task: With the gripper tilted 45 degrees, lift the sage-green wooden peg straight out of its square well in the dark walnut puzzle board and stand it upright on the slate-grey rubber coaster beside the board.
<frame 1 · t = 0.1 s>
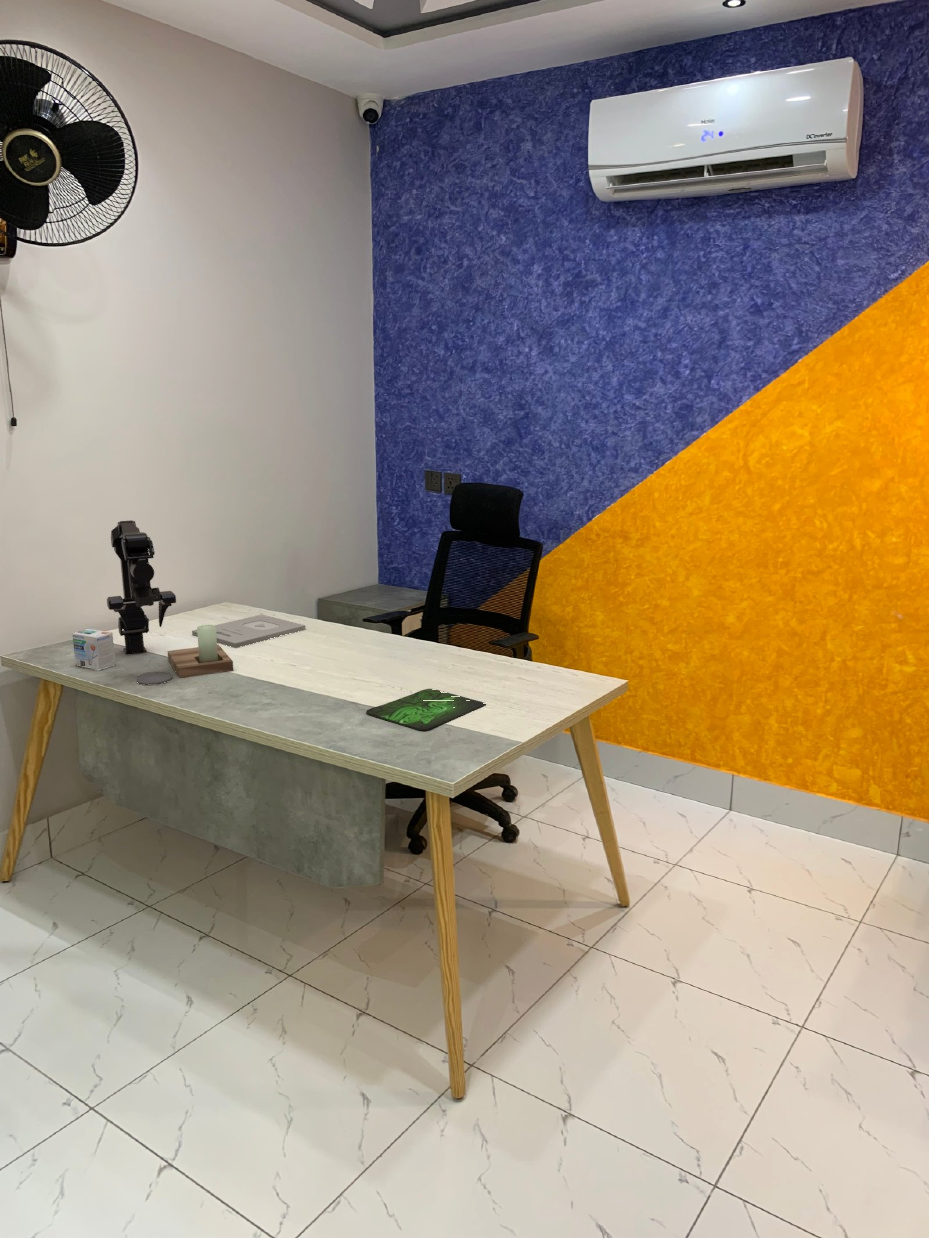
hand: (144, 628, 271), 15 cm above the table, tool pointing down, fingers open, 9 cm apart
mouse mat: (427, 710, 246), on the table
puzzle board: (200, 665, 284), on the table
coaster: (154, 679, 270), on the table
award plaque: (249, 634, 321), on the table
light bulb box: (96, 666, 284), on the table
peg: (209, 667, 281), resting in puzzle board
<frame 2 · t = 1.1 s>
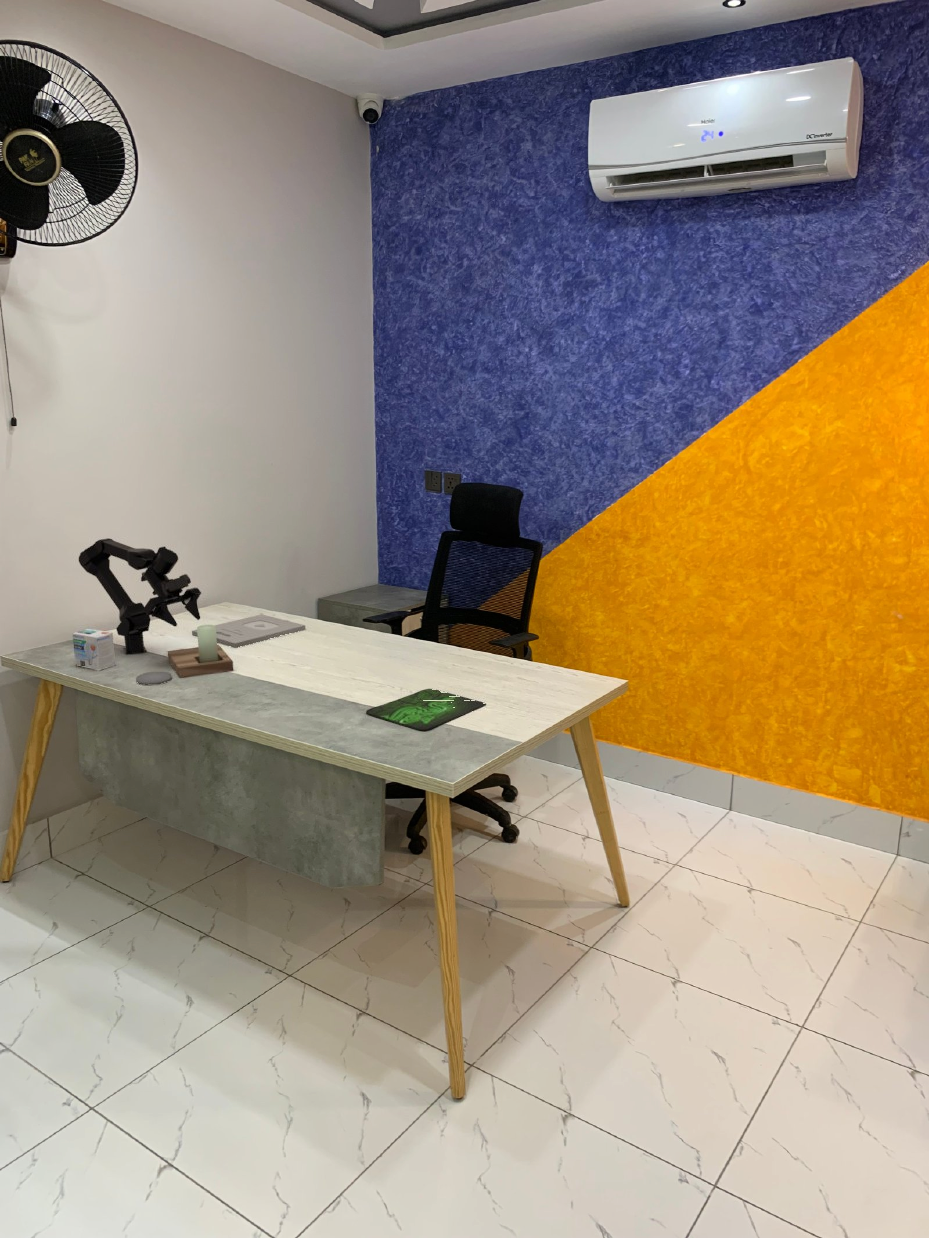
hand: (187, 622, 282), 13 cm above the table, tool tilted 45°, fingers open, 9 cm apart
nothing on the table moved.
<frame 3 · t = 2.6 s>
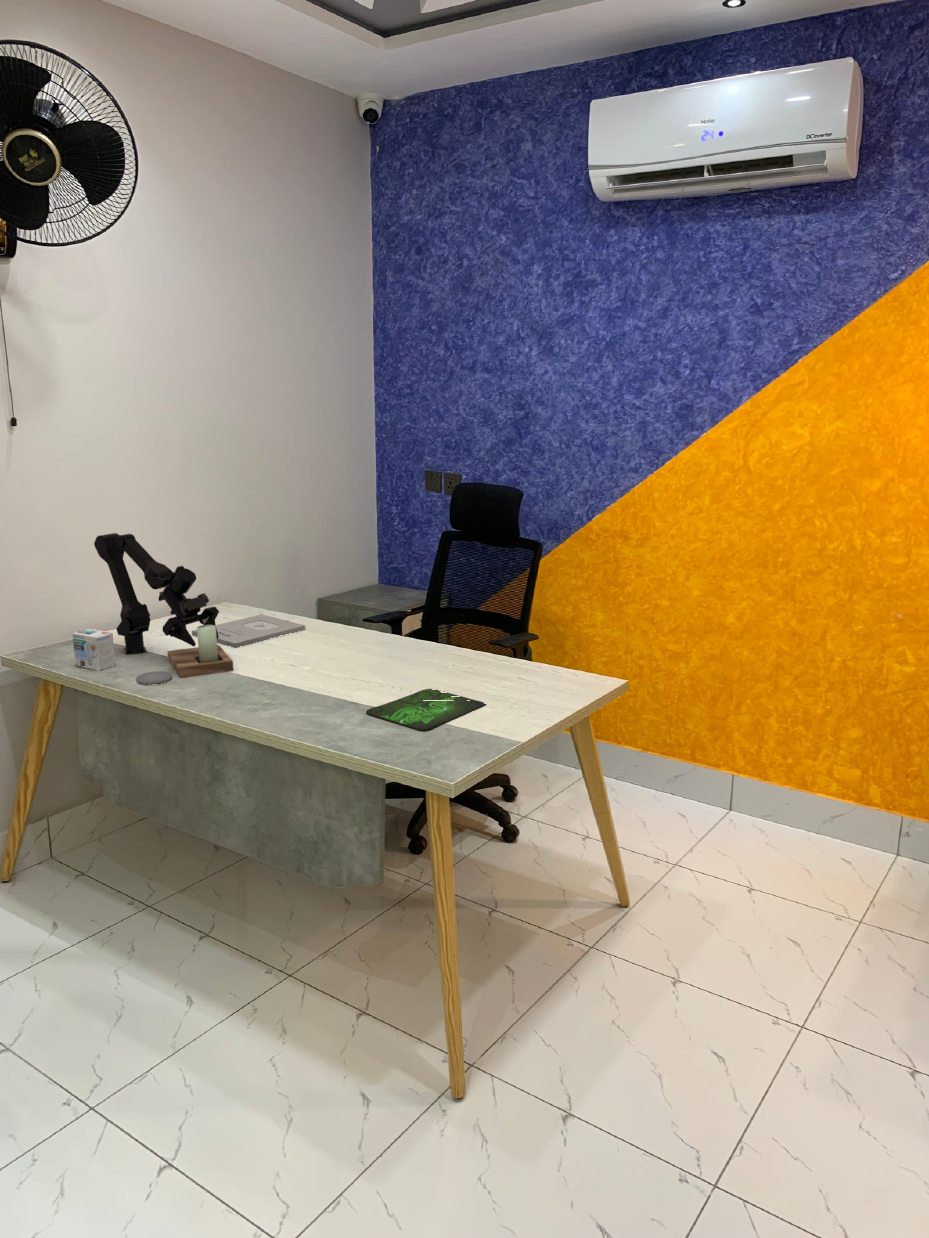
hand: (206, 642, 279), 8 cm above the table, tool tilted 45°, fingers open, 9 cm apart
nothing on the table moved.
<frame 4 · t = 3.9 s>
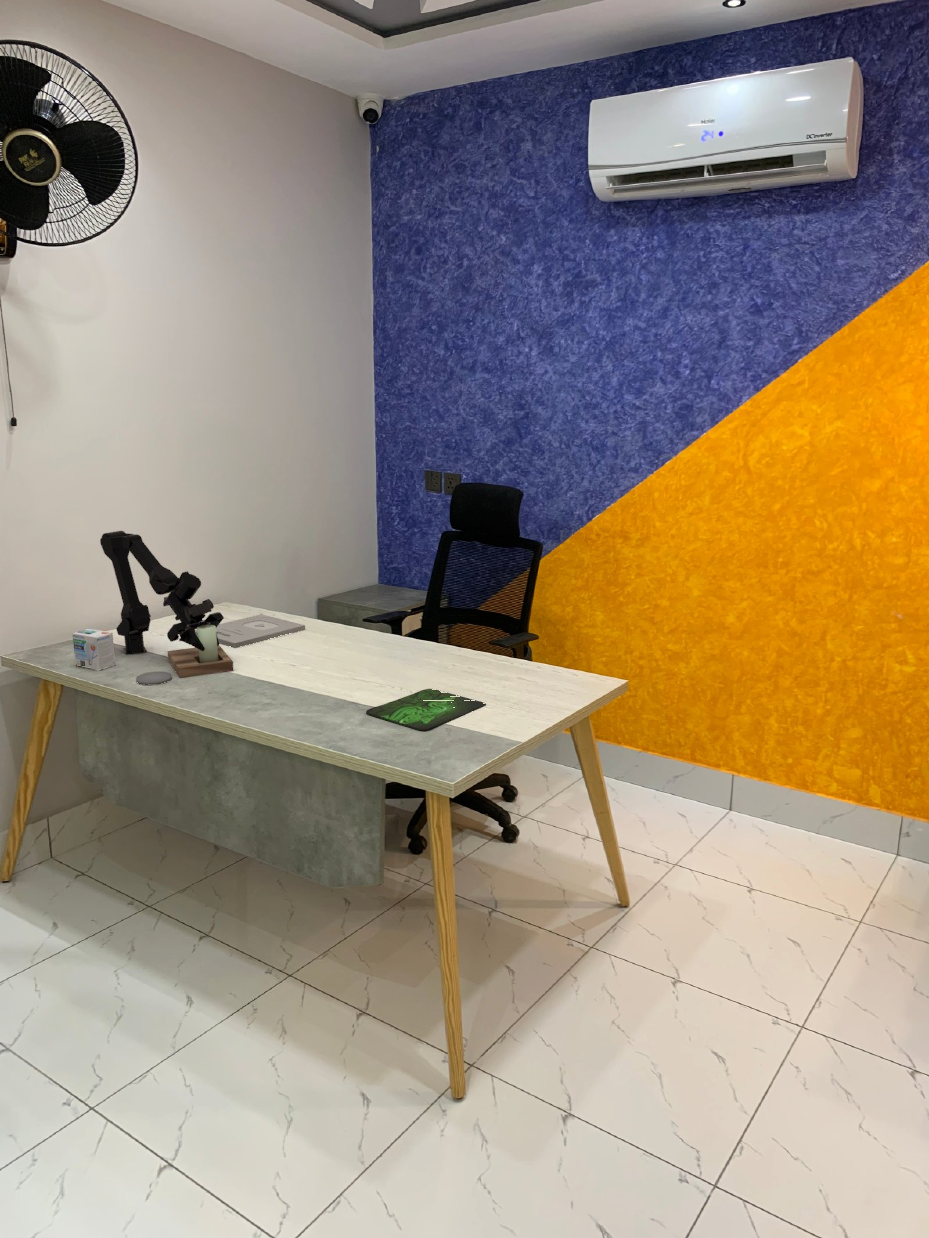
hand: (211, 647, 279), 7 cm above the table, tool tilted 45°, fingers closed on peg, 5 cm apart
peg: (209, 667, 281), resting in puzzle board, touching gripper
everything else where it was.
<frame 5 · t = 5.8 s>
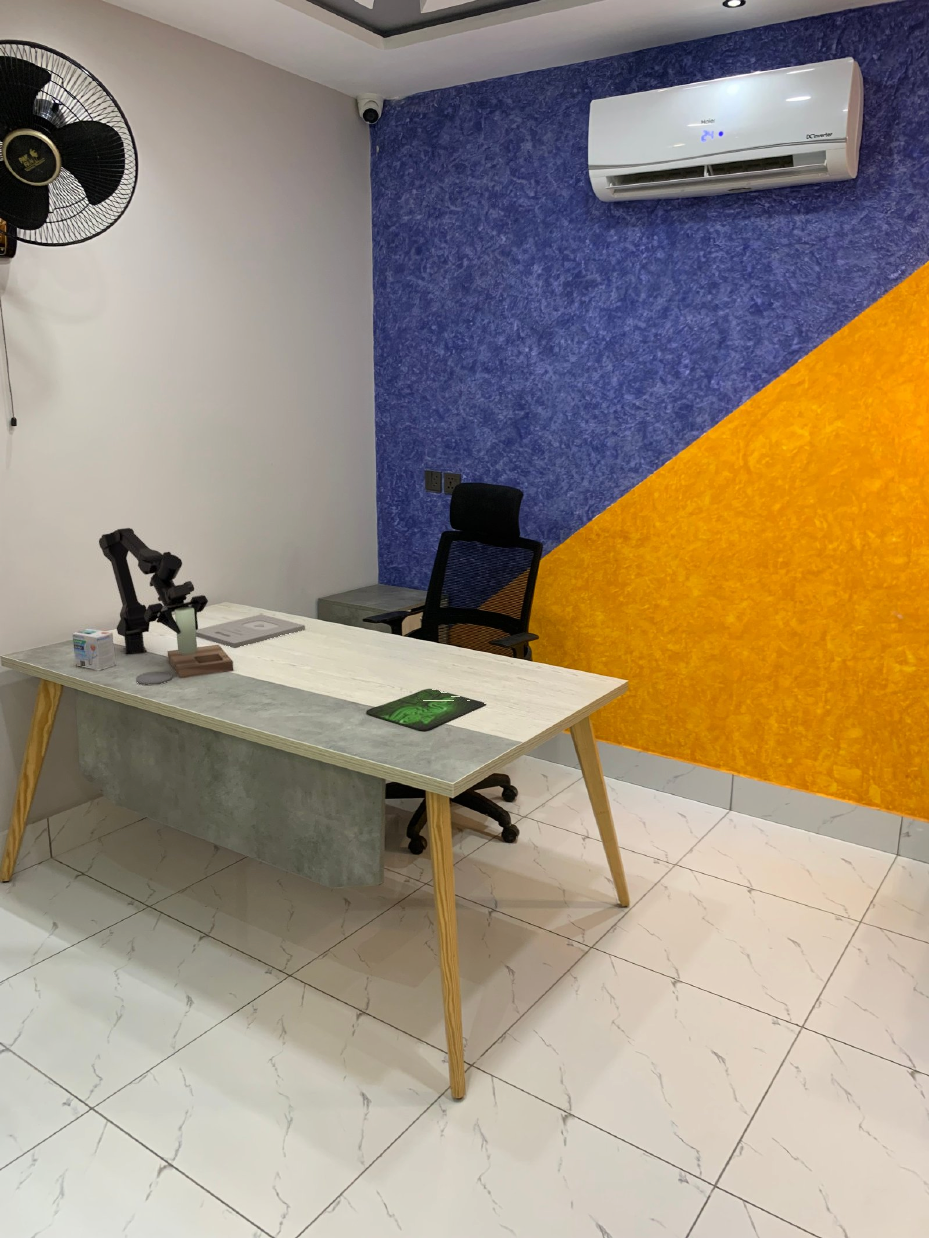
hand: (188, 631, 272), 13 cm above the table, tool tilted 45°, fingers closed on peg, 5 cm apart
peg: (187, 651, 274), point 7 cm above the table, touching gripper
everything else where it was.
when the fingers open (8 cm above the table, at t = 8.2 s): peg stays where it is, resting on coaster.
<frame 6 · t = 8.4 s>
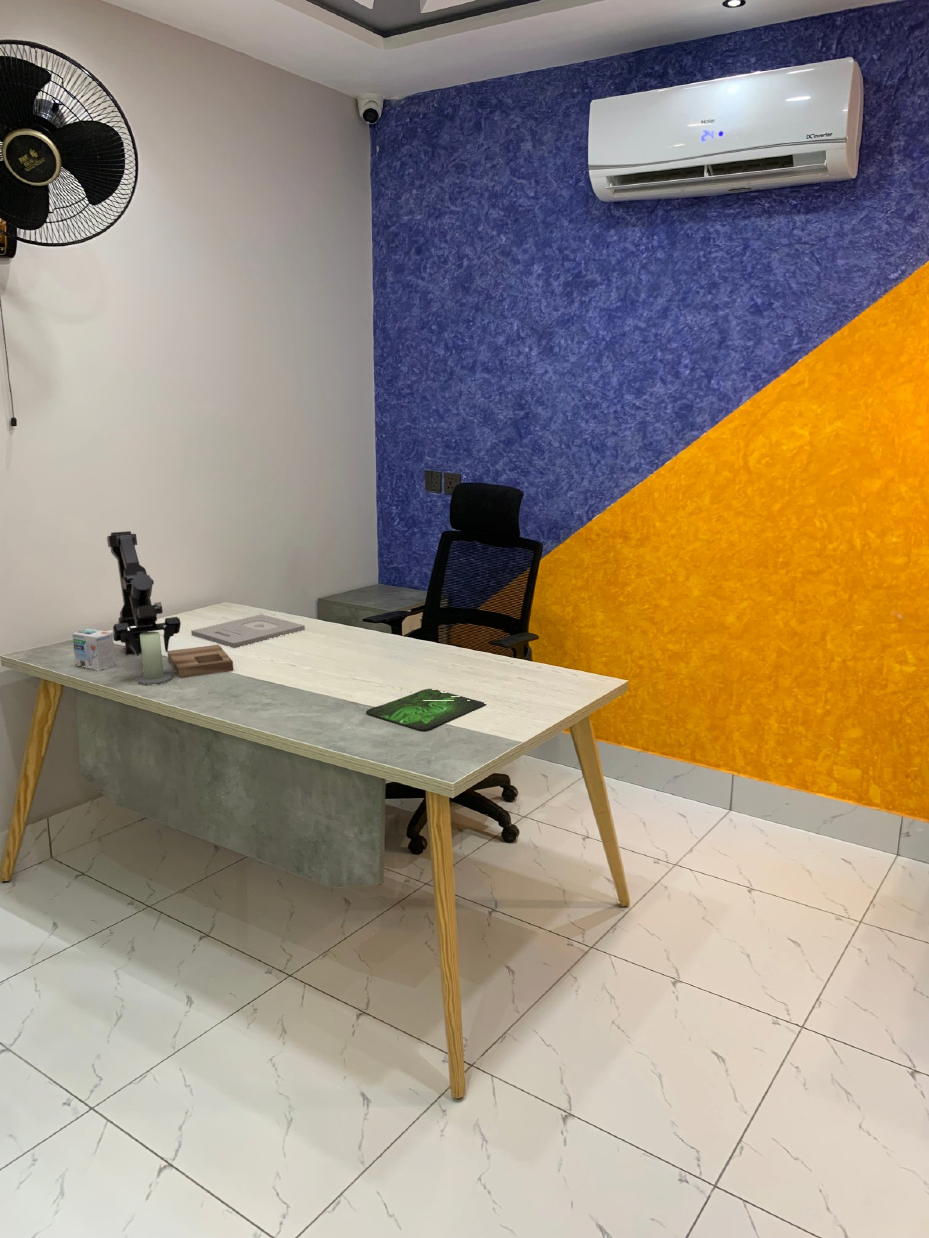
hand: (152, 653, 267), 9 cm above the table, tool tilted 45°, fingers open, 8 cm apart
peg: (154, 676, 270), point 1 cm above the table, touching coaster
everything else where it was.
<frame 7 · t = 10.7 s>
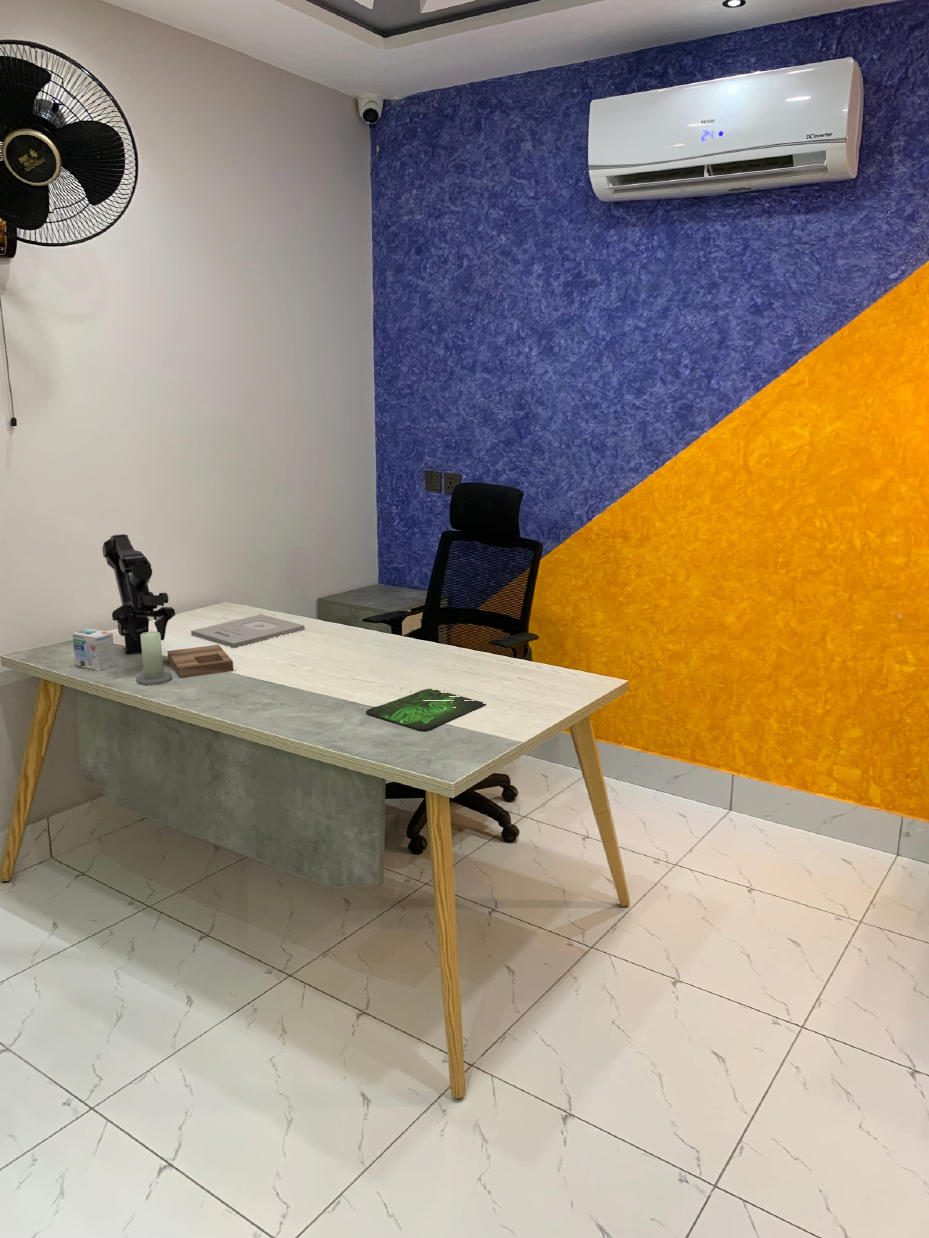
hand: (149, 640, 277), 10 cm above the table, tool tilted 30°, fingers open, 9 cm apart
nothing on the table moved.
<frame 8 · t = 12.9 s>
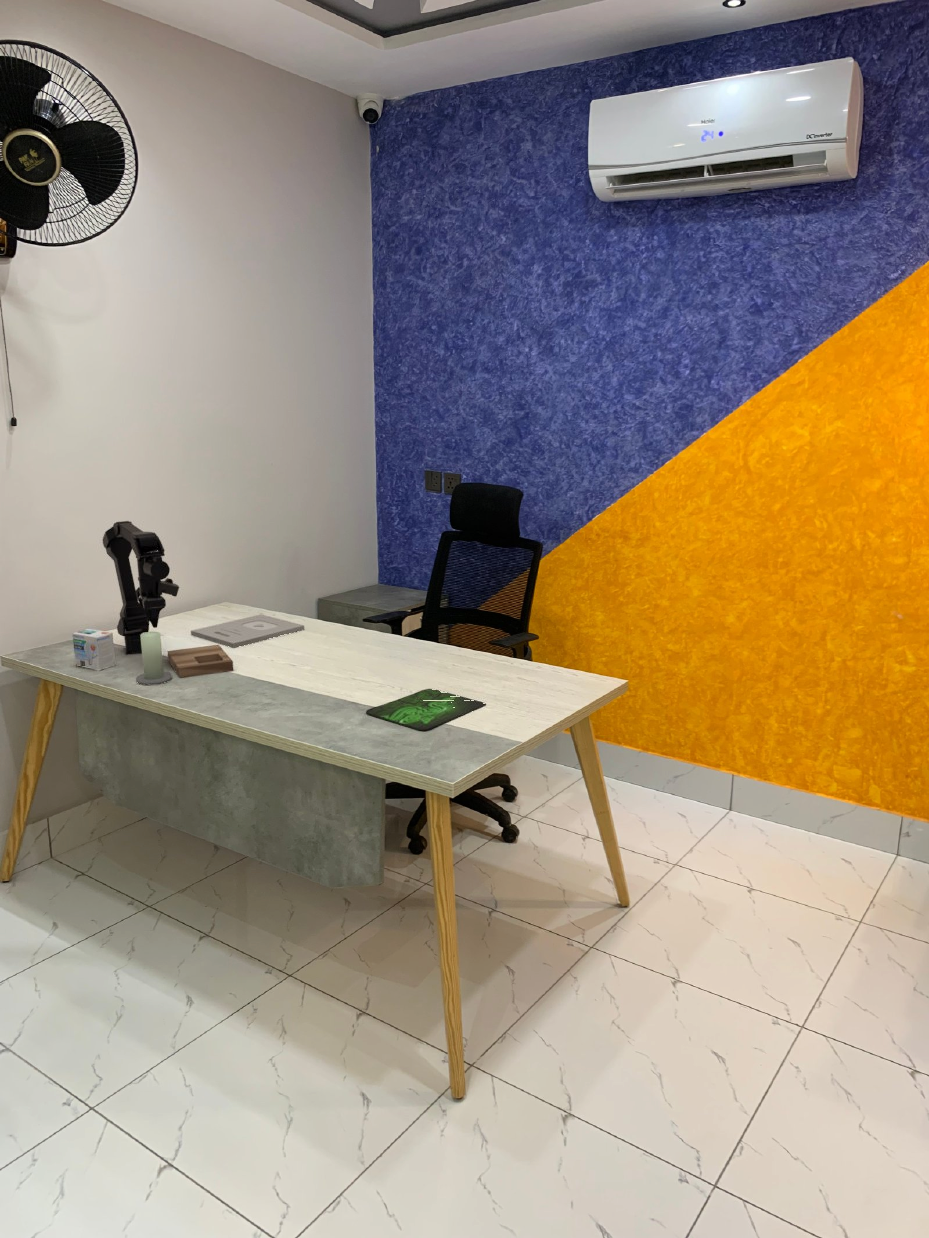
hand: (152, 624, 282), 13 cm above the table, tool pointing down, fingers open, 9 cm apart
nothing on the table moved.
at the end: peg inside the target area on the coaster (0.1 cm from its centre), point 1.0 cm above the coaster's base; peg tilted 0°; the gripper is holding nothing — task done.
